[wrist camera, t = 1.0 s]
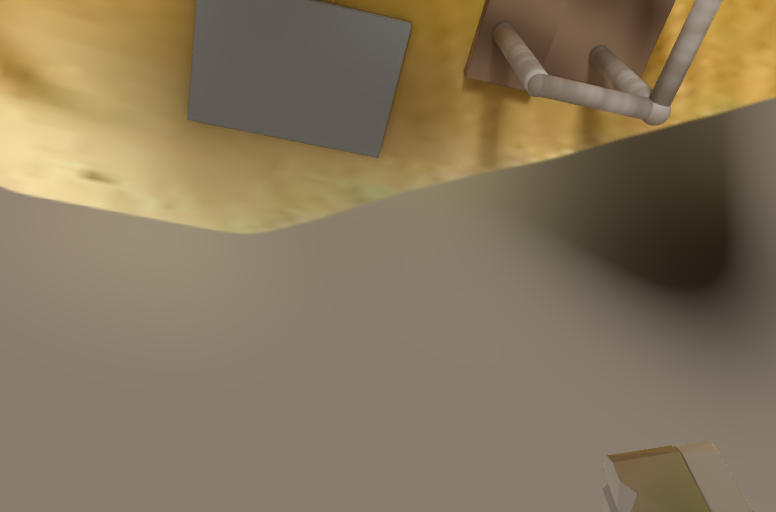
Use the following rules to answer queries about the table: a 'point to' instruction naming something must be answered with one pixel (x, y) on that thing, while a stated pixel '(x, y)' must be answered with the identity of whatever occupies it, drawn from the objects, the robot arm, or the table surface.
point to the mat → (297, 71)
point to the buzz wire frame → (586, 51)
